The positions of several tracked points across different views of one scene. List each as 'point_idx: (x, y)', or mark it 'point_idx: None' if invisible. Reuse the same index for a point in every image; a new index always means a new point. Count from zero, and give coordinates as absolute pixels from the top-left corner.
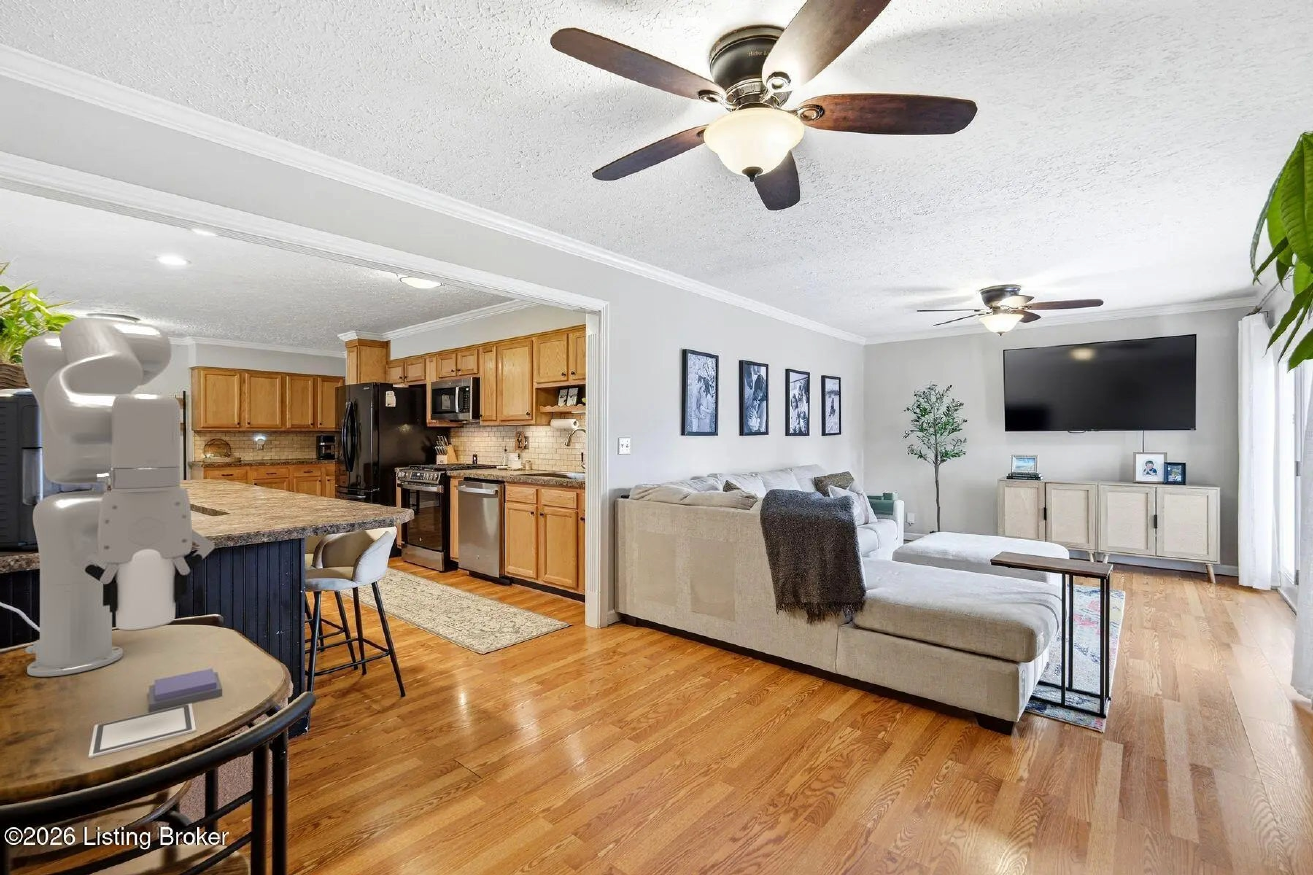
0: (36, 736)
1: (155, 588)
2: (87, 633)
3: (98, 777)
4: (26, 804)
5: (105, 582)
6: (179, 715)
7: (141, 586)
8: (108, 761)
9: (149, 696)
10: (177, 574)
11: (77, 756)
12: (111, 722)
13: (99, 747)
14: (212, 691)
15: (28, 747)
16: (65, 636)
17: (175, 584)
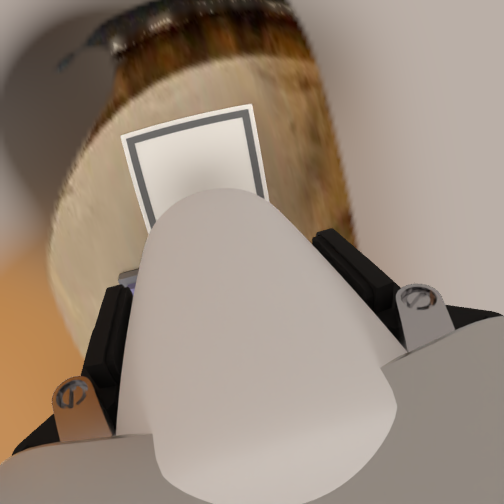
0: (332, 225)
1: (178, 261)
2: None
3: (221, 33)
4: (284, 5)
5: (410, 293)
6: (159, 209)
7: (246, 252)
8: (221, 79)
9: None
10: (112, 387)
11: (267, 120)
12: None
13: (244, 127)
14: (130, 276)
15: (333, 190)
16: None
17: (116, 335)
